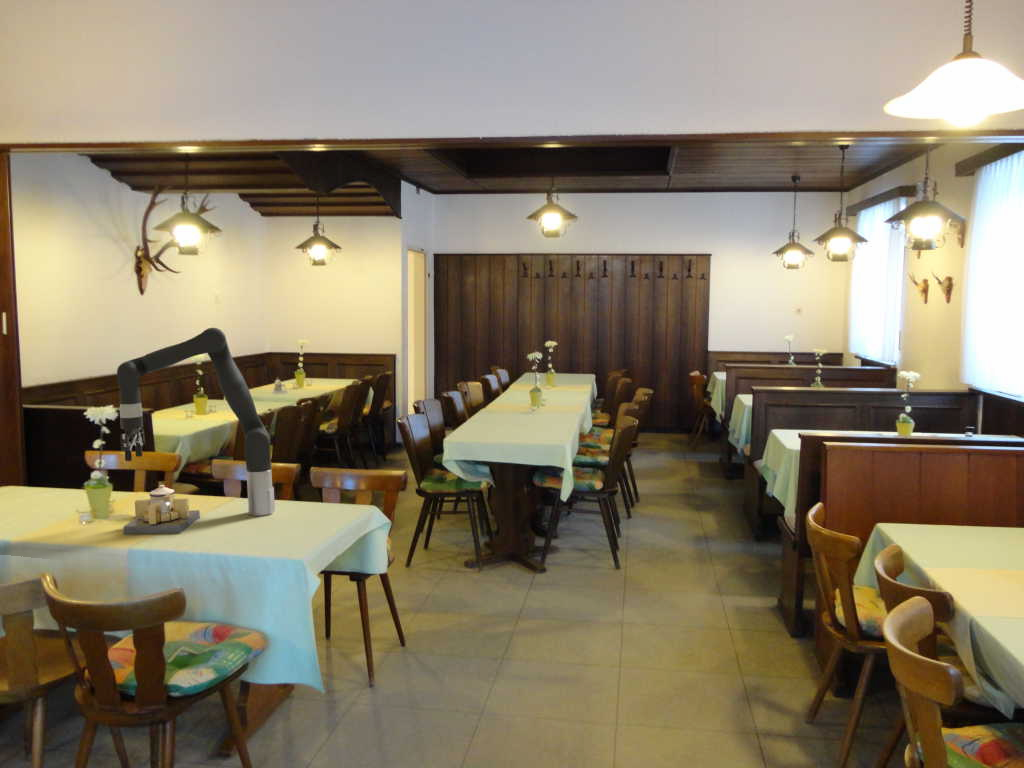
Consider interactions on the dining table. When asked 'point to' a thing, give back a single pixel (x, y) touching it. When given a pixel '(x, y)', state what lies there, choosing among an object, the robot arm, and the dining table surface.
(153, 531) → the gray flat tray
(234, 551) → the dining table surface
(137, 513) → the tan blocky ring
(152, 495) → the teacup with lid
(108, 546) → the dining table surface
